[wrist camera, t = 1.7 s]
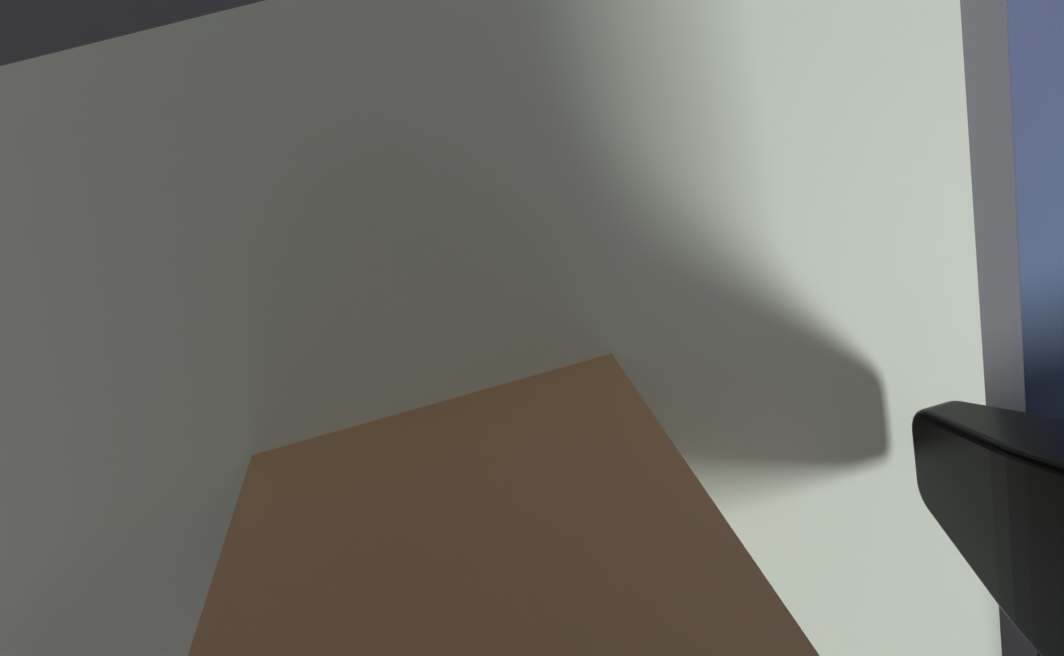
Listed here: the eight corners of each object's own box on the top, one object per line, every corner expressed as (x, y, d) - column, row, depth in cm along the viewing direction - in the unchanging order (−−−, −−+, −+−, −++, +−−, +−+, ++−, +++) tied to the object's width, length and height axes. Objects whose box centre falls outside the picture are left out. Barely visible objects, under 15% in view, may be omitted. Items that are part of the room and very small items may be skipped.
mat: (965, -286, 8) (991, -302, 8) (1024, 753, 13) (1042, 776, 12) (-474, 59, 7) (-522, 61, 7) (124, 1044, 12) (115, 1077, 12)
